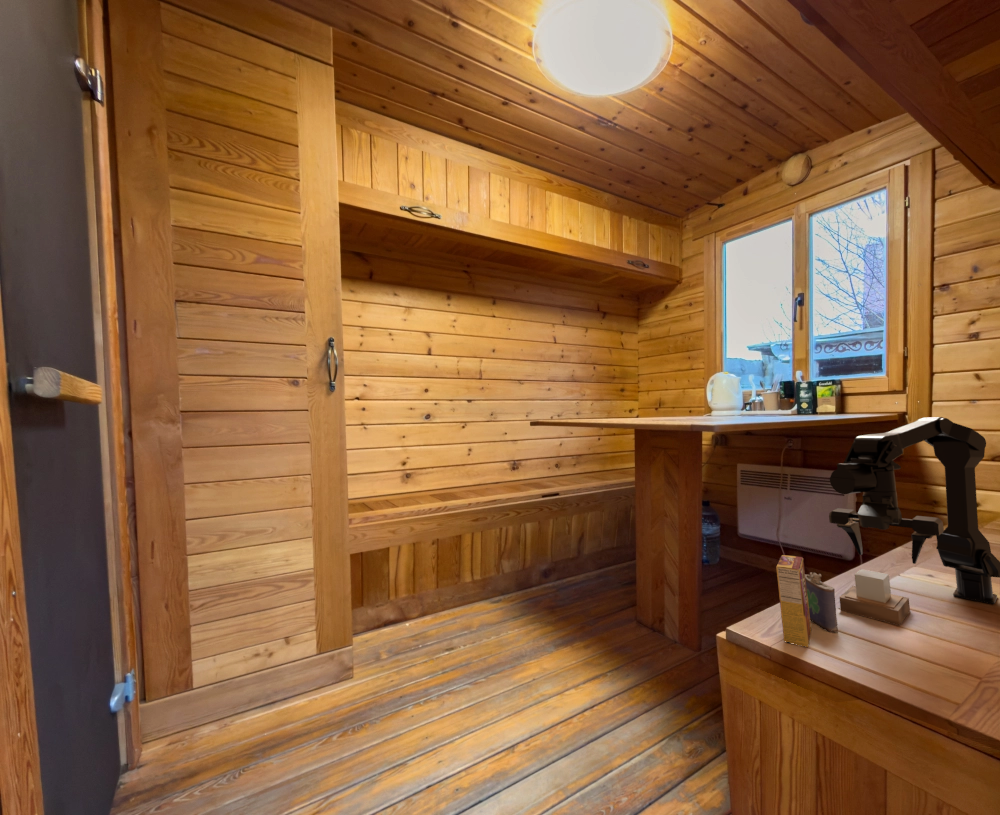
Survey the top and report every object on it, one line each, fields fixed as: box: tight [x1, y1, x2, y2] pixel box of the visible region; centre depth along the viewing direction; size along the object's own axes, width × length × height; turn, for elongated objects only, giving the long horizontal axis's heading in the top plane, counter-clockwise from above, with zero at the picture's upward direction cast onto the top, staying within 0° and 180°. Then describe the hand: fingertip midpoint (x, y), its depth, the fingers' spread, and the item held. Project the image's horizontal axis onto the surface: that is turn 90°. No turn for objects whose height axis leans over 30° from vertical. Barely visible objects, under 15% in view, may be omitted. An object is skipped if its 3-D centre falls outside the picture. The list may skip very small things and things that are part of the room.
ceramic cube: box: [854, 568, 892, 603], centre depth 96 cm, size 5×5×5 cm
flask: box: [805, 572, 839, 634], centre depth 92 cm, size 9×3×11 cm, turn 172°
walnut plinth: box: [839, 585, 911, 626], centre depth 96 cm, size 10×10×3 cm
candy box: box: [775, 554, 812, 648], centre depth 87 cm, size 9×4×15 cm, turn 140°
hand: (886, 558), depth 96 cm, fingers open, 9 cm apart
